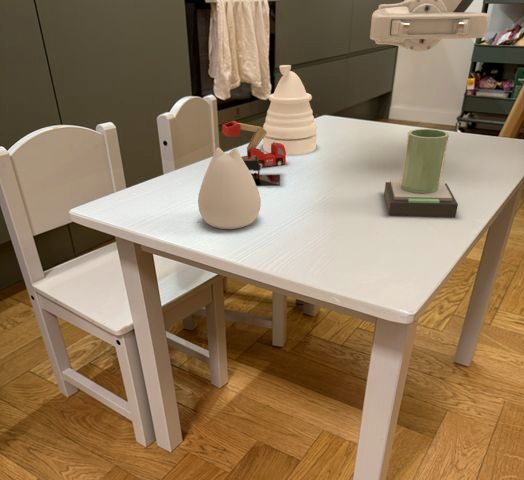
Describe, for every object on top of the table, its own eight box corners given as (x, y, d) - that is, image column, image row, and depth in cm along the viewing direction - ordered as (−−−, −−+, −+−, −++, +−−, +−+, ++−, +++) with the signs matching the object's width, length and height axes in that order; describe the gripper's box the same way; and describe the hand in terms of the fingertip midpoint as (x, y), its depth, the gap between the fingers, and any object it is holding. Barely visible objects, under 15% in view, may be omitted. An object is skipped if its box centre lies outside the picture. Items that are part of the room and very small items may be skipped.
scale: (444, 196, 93) (447, 179, 91) (455, 218, 84) (459, 200, 82) (383, 195, 94) (385, 178, 92) (388, 217, 85) (390, 199, 83)
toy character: (265, 212, 88) (264, 140, 81) (255, 236, 80) (253, 158, 72) (208, 210, 89) (202, 139, 82) (192, 233, 81) (184, 156, 74)
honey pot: (295, 159, 115) (296, 70, 104) (252, 150, 122) (249, 66, 111) (325, 147, 123) (330, 63, 112) (284, 139, 130) (284, 60, 119)
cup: (435, 182, 90) (445, 129, 85) (441, 194, 85) (452, 138, 79) (398, 181, 91) (406, 128, 85) (402, 193, 85) (410, 137, 80)
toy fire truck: (287, 165, 111) (288, 118, 105) (228, 173, 107) (226, 124, 101) (282, 161, 113) (282, 115, 108) (224, 169, 109) (221, 121, 104)
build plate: (279, 176, 105) (280, 153, 102) (280, 188, 99) (280, 163, 96) (221, 176, 105) (219, 153, 102) (217, 188, 99) (216, 164, 96)
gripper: (475, 42, 96) (493, 50, 85) (367, 43, 98) (370, 50, 87) (483, 2, 92) (502, 4, 81) (370, 4, 94) (374, 7, 83)
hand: (433, 28), depth 84 cm, fingers open, 8 cm apart
